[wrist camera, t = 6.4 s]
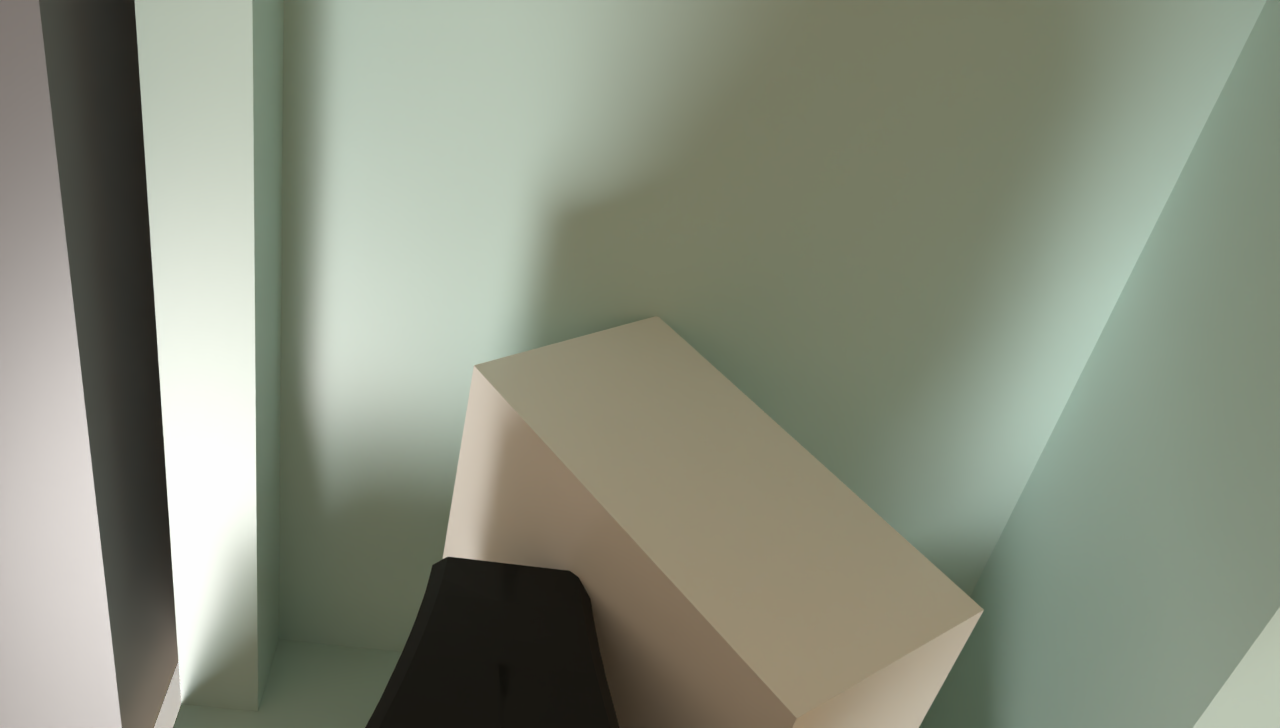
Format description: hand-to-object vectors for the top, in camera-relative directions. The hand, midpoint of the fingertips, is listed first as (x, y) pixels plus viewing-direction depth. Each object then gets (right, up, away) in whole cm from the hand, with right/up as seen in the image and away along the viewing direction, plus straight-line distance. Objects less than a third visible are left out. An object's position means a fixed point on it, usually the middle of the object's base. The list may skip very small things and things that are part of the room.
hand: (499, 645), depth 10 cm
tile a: (+1, 0, 0) cm, 1 cm away
